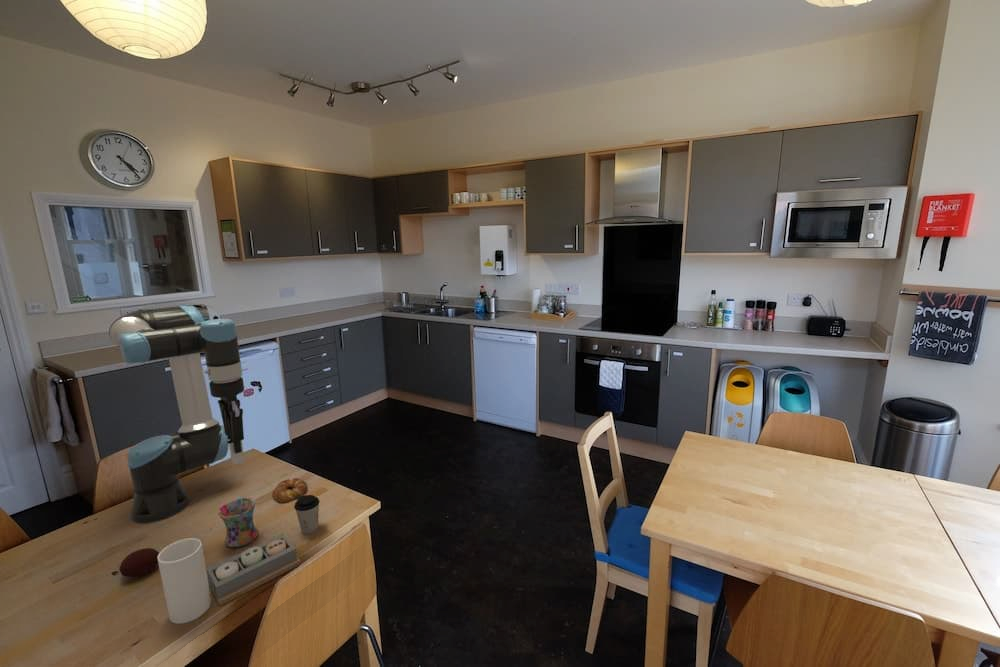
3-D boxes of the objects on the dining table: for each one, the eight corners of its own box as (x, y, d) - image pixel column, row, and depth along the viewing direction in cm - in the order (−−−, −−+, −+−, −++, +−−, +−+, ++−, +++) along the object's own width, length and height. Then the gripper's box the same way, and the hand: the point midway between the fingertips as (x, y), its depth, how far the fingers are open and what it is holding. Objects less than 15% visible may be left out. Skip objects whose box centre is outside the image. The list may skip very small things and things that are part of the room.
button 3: (264, 556, 120) (262, 545, 119) (282, 547, 123) (281, 536, 122) (270, 564, 116) (269, 553, 116) (289, 555, 120) (288, 544, 119)
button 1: (215, 579, 112) (213, 568, 111) (236, 569, 115) (234, 558, 114) (220, 589, 108) (218, 577, 108) (242, 579, 112) (240, 567, 111)
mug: (256, 546, 126) (251, 513, 124) (219, 553, 123) (213, 519, 121) (264, 521, 137) (260, 490, 135) (230, 527, 134) (225, 496, 132)
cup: (183, 596, 108) (172, 539, 105) (218, 594, 109) (208, 536, 106) (161, 625, 100) (148, 563, 97) (199, 622, 101) (187, 561, 98)
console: (206, 580, 113) (203, 565, 113) (283, 543, 127) (281, 530, 126) (219, 606, 105) (217, 591, 104) (300, 564, 118) (298, 550, 118)
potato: (122, 570, 117) (118, 551, 116) (161, 557, 122) (157, 538, 121) (120, 587, 111) (116, 567, 110) (161, 572, 116) (158, 552, 115)
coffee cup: (327, 525, 135) (324, 495, 133) (309, 539, 128) (305, 508, 126) (310, 519, 138) (307, 490, 135) (291, 533, 131) (288, 502, 129)
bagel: (297, 504, 146) (296, 494, 145) (265, 504, 147) (263, 494, 146) (313, 484, 158) (312, 475, 157) (283, 484, 158) (282, 475, 157)
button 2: (240, 563, 115) (238, 552, 115) (259, 554, 119) (258, 543, 118) (246, 573, 112) (244, 561, 111) (266, 563, 115) (264, 552, 115)
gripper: (202, 377, 117) (215, 459, 122) (216, 388, 108) (229, 476, 113) (234, 370, 122) (245, 450, 127) (250, 380, 113) (261, 465, 118)
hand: (238, 462), depth 120 cm, fingers closed
